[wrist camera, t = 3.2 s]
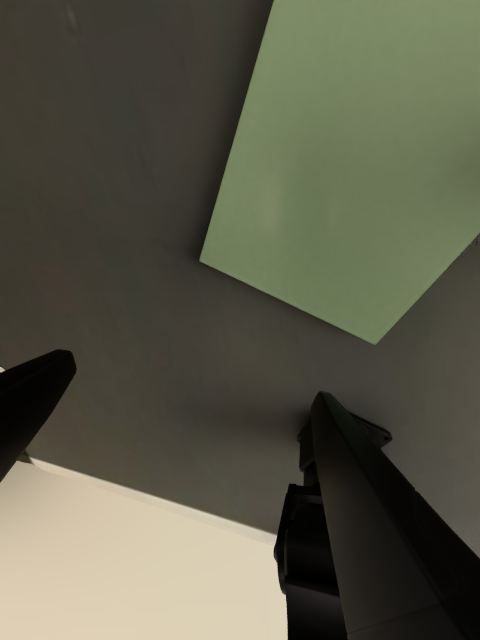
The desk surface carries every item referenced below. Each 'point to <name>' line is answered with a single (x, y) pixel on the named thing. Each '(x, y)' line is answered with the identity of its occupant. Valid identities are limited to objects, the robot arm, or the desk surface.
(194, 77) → the desk surface
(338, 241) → the board
